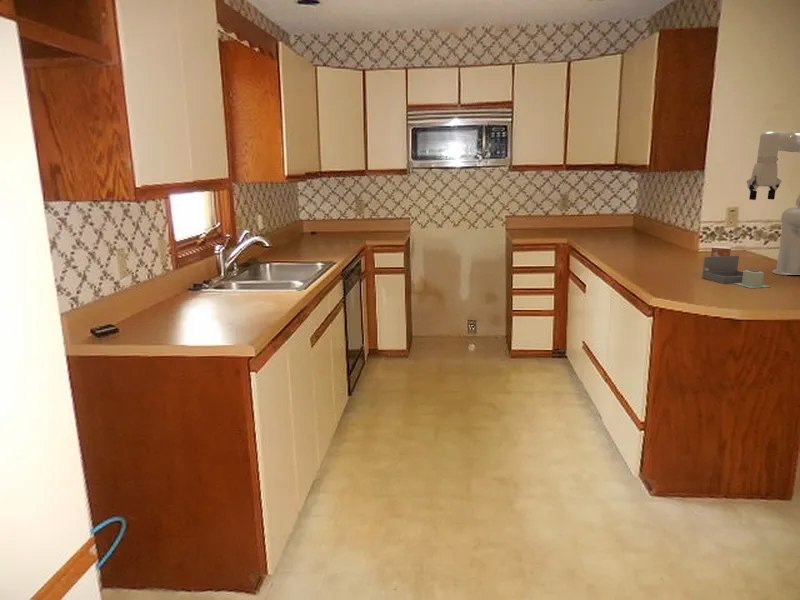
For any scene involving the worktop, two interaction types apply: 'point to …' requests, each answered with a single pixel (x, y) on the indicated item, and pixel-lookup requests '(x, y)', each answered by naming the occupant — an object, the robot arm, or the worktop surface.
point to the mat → (751, 286)
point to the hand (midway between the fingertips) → (761, 199)
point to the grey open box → (722, 269)
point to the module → (752, 278)
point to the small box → (720, 251)
